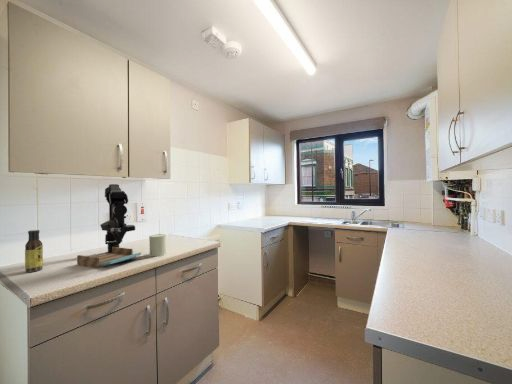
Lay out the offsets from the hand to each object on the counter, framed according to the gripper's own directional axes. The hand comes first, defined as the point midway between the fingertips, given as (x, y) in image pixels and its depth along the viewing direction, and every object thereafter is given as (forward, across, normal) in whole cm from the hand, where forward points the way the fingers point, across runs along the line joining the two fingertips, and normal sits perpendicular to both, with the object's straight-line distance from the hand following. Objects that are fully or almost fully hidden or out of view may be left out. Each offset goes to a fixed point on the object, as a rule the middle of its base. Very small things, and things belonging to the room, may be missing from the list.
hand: (118, 243), depth 122 cm
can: (+10, +7, +20) cm, 24 cm away
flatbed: (+10, -10, 0) cm, 15 cm away
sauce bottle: (+10, -29, -23) cm, 39 cm away
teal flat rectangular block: (+8, -2, 0) cm, 9 cm away
